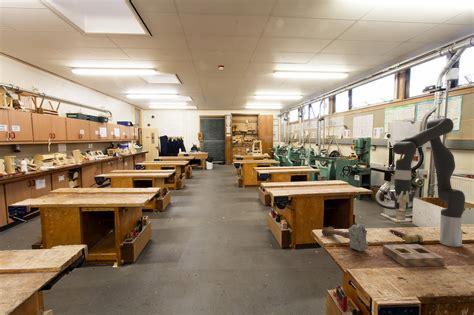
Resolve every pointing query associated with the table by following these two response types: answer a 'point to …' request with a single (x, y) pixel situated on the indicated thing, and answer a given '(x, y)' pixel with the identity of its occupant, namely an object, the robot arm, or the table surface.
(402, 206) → the birch peg
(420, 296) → the table surface
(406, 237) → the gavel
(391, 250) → the walnut board
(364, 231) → the hammer
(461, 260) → the table surface
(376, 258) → the table surface
